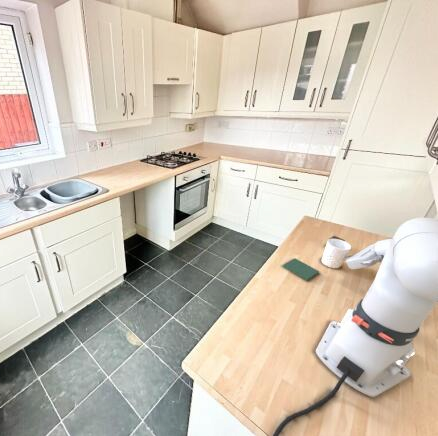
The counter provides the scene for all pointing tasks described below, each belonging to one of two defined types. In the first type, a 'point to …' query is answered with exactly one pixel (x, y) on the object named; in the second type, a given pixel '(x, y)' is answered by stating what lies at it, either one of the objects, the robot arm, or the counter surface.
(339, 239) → the walnut block
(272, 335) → the counter surface
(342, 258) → the white cup
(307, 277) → the flat green block
